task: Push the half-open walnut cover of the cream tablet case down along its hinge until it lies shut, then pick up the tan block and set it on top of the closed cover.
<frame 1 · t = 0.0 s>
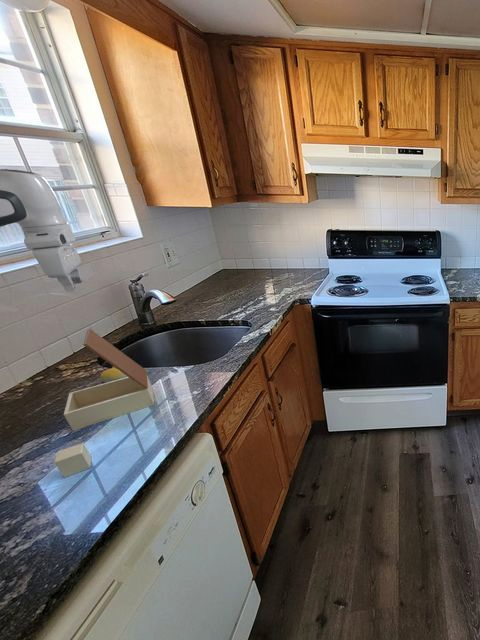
hand: (74, 286, 102), 33 cm above the counter, tool pointing down, fingers open, 8 cm apart
case: (116, 406, 106), on the counter
tan block: (78, 467, 84), on the counter
yellow rounded lump: (120, 377, 122), on the counter
cover: (117, 359, 103), point 14 cm above the counter, hinge at 65.0°
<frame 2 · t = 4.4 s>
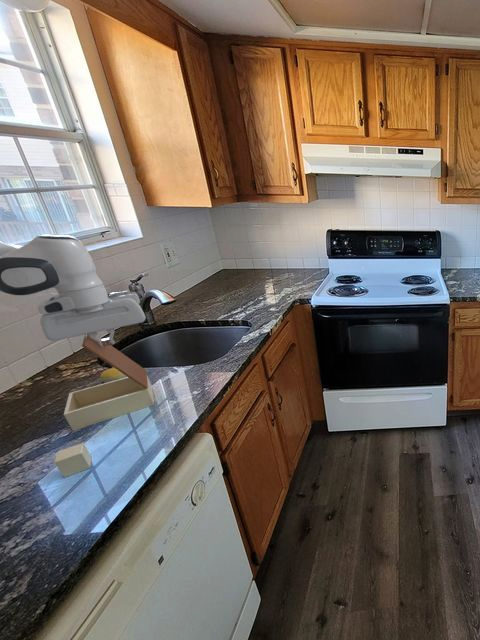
hand: (108, 344, 101), 19 cm above the counter, tool pointing down, fingers closed
cover: (117, 359, 103), point 14 cm above the counter, hinge at 63.8°, touching gripper
everything else where it was.
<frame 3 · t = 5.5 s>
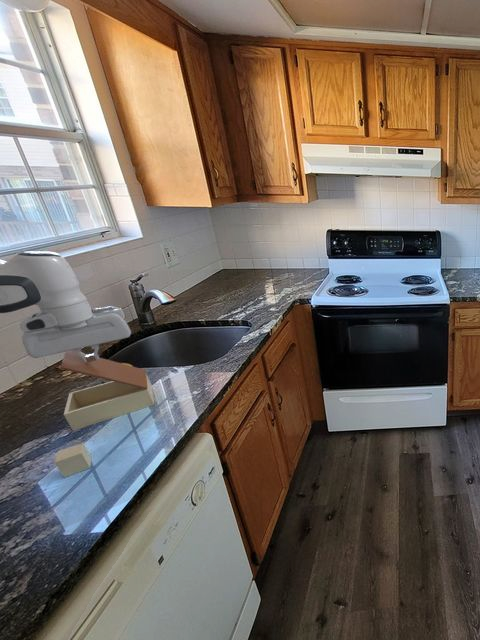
hand: (92, 360, 100), 15 cm above the counter, tool pointing down, fingers closed
cover: (107, 369, 103), point 12 cm above the counter, hinge at 41.5°, touching gripper
everything else where it was.
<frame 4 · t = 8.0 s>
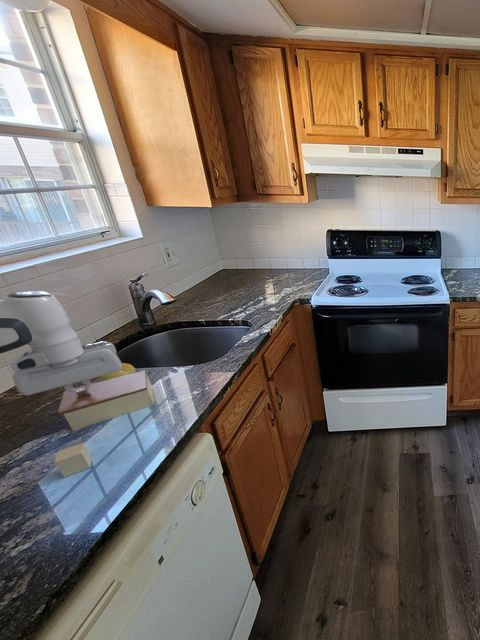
hand: (84, 395, 101), 6 cm above the counter, tool pointing down, fingers closed, pressing on cover
cover: (105, 390, 104), point 6 cm above the counter, hinge at 0.6°, touching gripper
everything else where it was.
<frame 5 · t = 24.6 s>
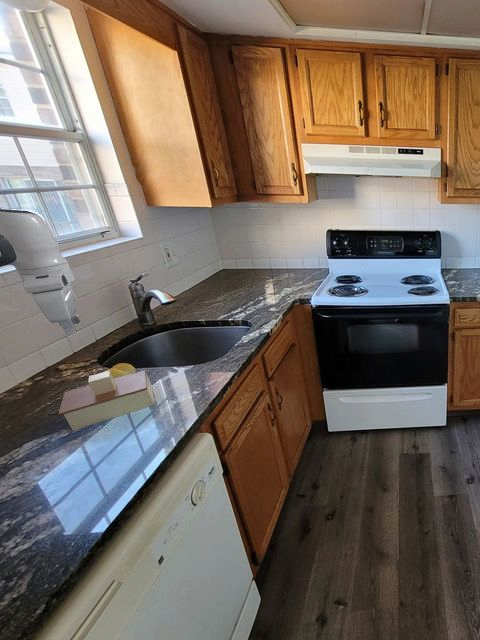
hand: (74, 328, 96), 25 cm above the counter, tool pointing down, fingers open, 8 cm apart
tan block: (106, 389, 104), point 6 cm above the counter, touching cover
cover: (106, 390, 104), point 6 cm above the counter, hinge at -0.2°, touching case, tan block
everything else where it was.
at the end: cover at +0° (first picture: +65°); tan block inside the target area on the case (0.4 cm from its centre), point 5.9 cm above the case's base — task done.
